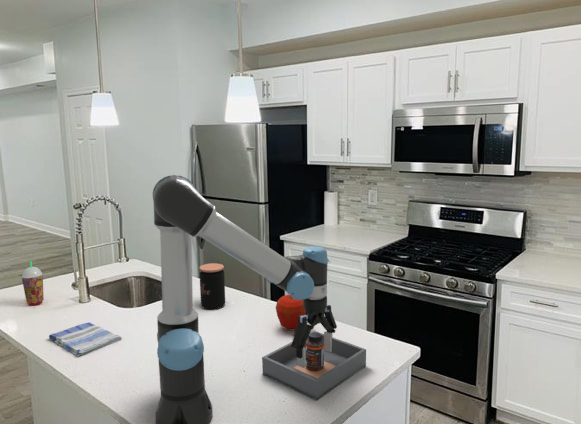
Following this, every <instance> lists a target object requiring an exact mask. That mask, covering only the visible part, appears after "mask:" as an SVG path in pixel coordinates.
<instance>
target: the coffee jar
mask: <svg viewBox="0 0 581 424" xmlns="http://www.w3.org/2000/svg"><path fill="white" fill-rule="evenodd" d="M198 268H199V290H200V293H199V294H200V306H201V307H202V309H205V310H208V311H209V310H211V311H213V310H219V309H221V308H223V307H224V306H225V304H226V286H225V285H226V281H225V271H224V269H225V266H224V265H223V264H221V263H215V262H213V263H212V262H211V263H210V262H209V263H205V264H202V265H200V266H199V267H198Z"/></svg>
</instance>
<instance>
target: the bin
mask: <svg viewBox="0 0 581 424" xmlns="http://www.w3.org/2000/svg"><path fill="white" fill-rule="evenodd" d="M311 332H318V333H320V334H321V339H322V340H323V341H324V333H321V332H320V331H316V330H311ZM311 332H310V333H311ZM307 339H309V336H308V338H307ZM291 344H292V341H290V342H289V343H287V344H285V345H284V346H281V347H279V348H278V349H276V350H273V351H272V352H270V353H268V354H265V355H263V356H262V359H261V360H262V376H264V377H267V378H269V379H271V380H273V381H275V382H277V383H279V384H282V385H283V386H285V387H287V388H289V389H291V390H293V389H294V391H296V392H297V393H299V394H302V395H304V396H306V397H308V398H310V399H312V400H314V401H318V400H320V399H321V398H322V397H324V396H325V395H327V394H329V393H330V392H331V391H333V390H334V389H335V388H337V387H338V386H340V385H341V384H343V383H344V382H346V381H347V380H348V379H350V378H352V377H353V376H354V375H356V374H357V373H359V372H360V371H361V370H362V369H364V368H365V367H366V366H367V349H366V348H363V347H360V346H358V345H355V344H352V343H350V342H347V341H344V340H341V339H338V338H336V337H333V336H332V352H328V351H325V350H324V367H323V368H322V369H321V370H318V371H312V370H309V369H307V368H306V364H305V368H302V367H300V366H298V365H297V356H296V348H294V347H292V346H291ZM304 347H305V360H306V343H305V345H304ZM305 362H306V361H305Z"/></svg>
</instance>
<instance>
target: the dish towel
mask: <svg viewBox="0 0 581 424" xmlns="http://www.w3.org/2000/svg"><path fill="white" fill-rule="evenodd" d="M48 338H49V339H50V340H51V341H53V342H55V343H56V344H57V345H58V346H61V347H62V348H63V349H64V350H66V351H68V352H69V353H72V354H73V355H75V356H76V357H81V356H85V355H88V354H90V353H92V352H95V351H97V350H99V349H103V348H105V347H107V346H110V345H113V344H115V343H118V342H120V341H122V340H123V339H122V336H121V335H119V334H116V333H113V332H112V331H109V330H107V329H104V328H102V327H101V326H97V325H95V324H94V323H93V322H86V323H82V324H78V325H75V326H73V327H69V328H66V329H63V330H60V331H59V332H55V333H50V334H49V335H48Z"/></svg>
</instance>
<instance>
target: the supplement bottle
mask: <svg viewBox="0 0 581 424" xmlns="http://www.w3.org/2000/svg"><path fill="white" fill-rule="evenodd" d="M318 332H319V331H317V332H312V331H311V333H310V334H309V339H307V341H306V360H305V361H306V362H305V364H306V368H307V369H309V370H312V371H318V370H321V369H322V368H323V367H324V341H323V340H322V339H321V334H320V333H321V332H319V333H318Z"/></svg>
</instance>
